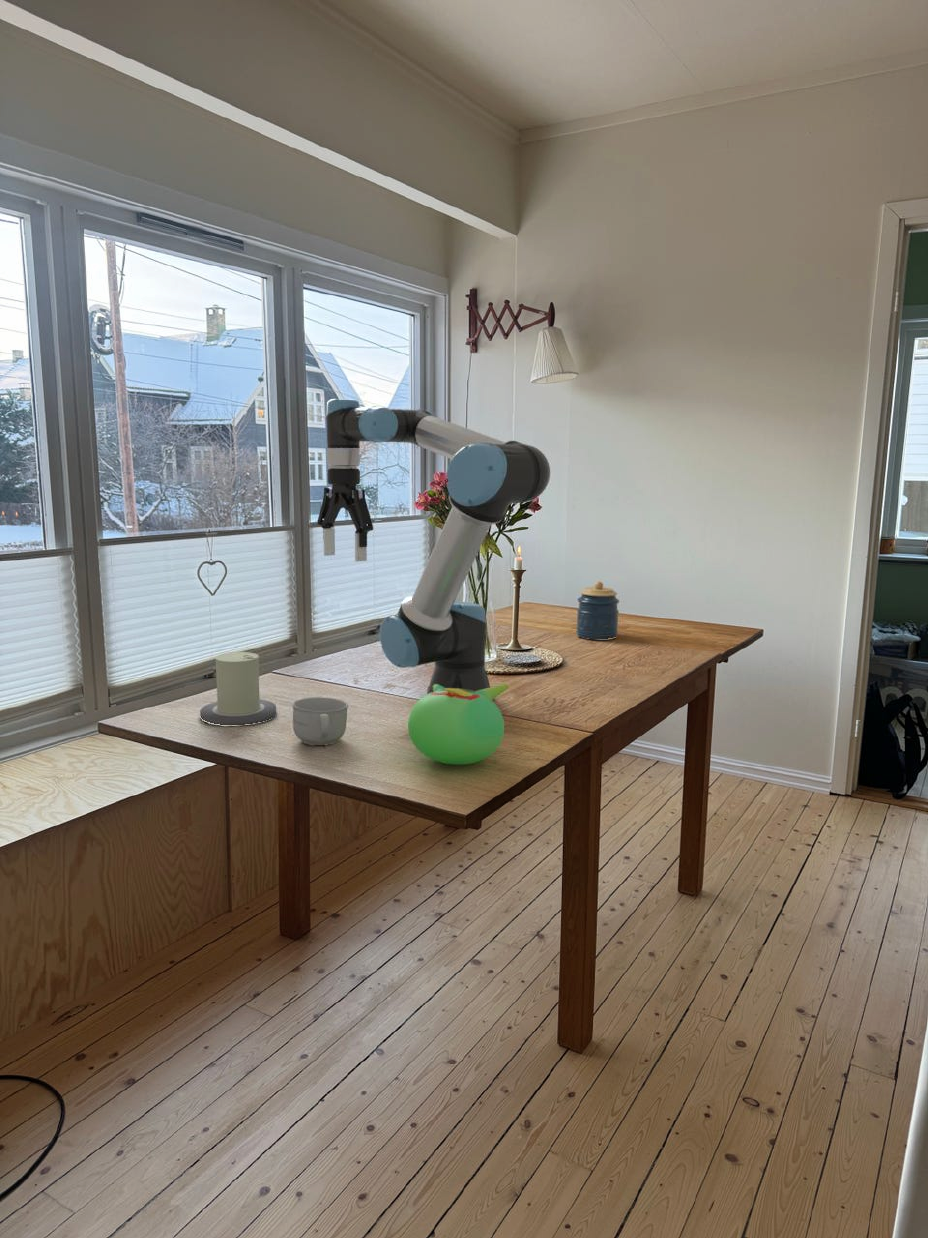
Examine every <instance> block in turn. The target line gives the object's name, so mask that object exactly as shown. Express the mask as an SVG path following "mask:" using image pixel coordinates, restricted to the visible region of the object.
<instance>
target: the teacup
mask: <svg viewBox="0 0 928 1238" xmlns="http://www.w3.org/2000/svg"><path fill="white" fill-rule="evenodd" d="M348 708H349V703H347V702H346V701H344V700H342V699H337V698H333V697H323V696H322V697H321V696H320V697H319V696H317V697H315V696H314V697H306V698H301V699H297V700H295V701H293V702H292V728H293V729H292V730H293V732H294V734H295V737H297V738H298V739H299V740H301V742H302V743H304V744H305V743H306V745H308V744H310V745H309V746H315V745H325V746H327V745H326V744H331V743H333V744H335V743H336V742H337V741H339V740H340V739H341V738H342V737H343V736H344V735H345V733H346V729H347V721H348ZM334 742H335V743H334ZM331 745H332V744H331Z"/></svg>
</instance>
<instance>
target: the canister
mask: <svg viewBox="0 0 928 1238" xmlns="http://www.w3.org/2000/svg"><path fill="white" fill-rule="evenodd" d="M580 594H581V596H579V597H578V598H577V602H578V608H577V610H576V611H577V619H576V621H577V623H576V629H575V630H576V636H577V635H578V636H579V637H578V636H577V637H578V638H580V637H583V638H589V639H608V638H613V637H616V636H617V637H618V634H619V632H618V631H619V629H618V623H619V622H618V621H619V612H620V610H619V609H618V604H619V602H620V599H619V598H617V596H616V595H617V594H618V593H617V591H615V590H613V588H611V587H605V586H604V584H603V582H602V581H598V580H597V581H596V582H595V584H594V586H588V587H584V589H583V590H580ZM617 637H616V638H617ZM583 638H582V639H583Z"/></svg>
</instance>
